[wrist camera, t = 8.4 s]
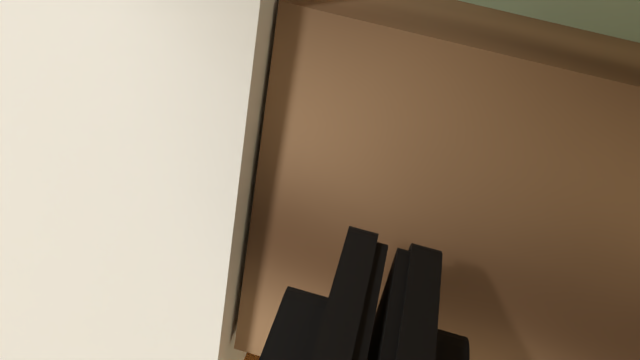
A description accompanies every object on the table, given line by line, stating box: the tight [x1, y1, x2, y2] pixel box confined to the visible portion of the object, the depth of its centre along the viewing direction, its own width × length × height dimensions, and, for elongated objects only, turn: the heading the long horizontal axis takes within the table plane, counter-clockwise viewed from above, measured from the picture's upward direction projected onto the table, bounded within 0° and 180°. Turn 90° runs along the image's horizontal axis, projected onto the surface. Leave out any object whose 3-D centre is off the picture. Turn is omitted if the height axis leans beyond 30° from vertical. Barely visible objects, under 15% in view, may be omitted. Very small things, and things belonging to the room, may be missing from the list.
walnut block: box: [234, 0, 640, 360], centre depth 13 cm, size 9×9×2 cm
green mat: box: [458, 0, 640, 43], centre depth 14 cm, size 16×12×1 cm
